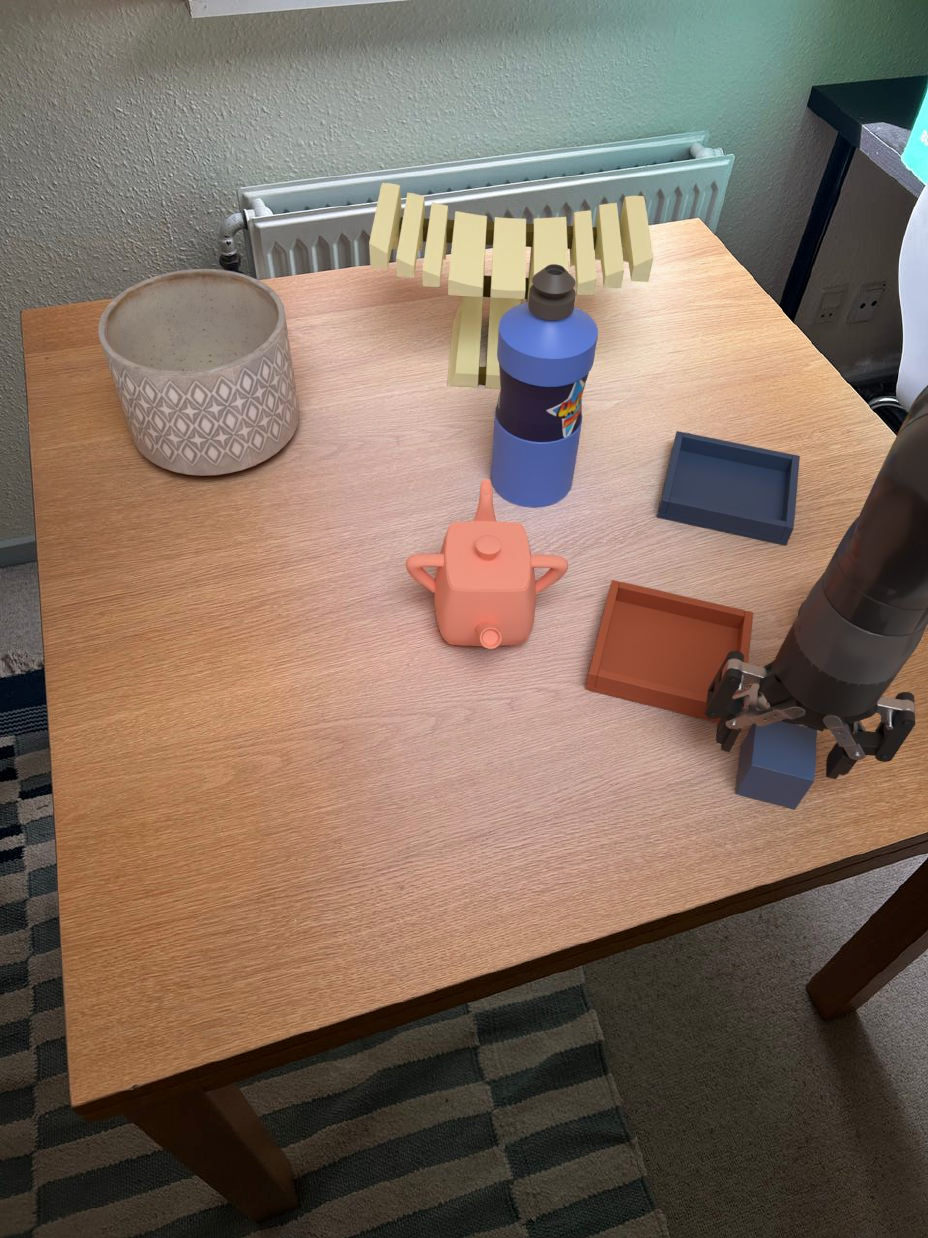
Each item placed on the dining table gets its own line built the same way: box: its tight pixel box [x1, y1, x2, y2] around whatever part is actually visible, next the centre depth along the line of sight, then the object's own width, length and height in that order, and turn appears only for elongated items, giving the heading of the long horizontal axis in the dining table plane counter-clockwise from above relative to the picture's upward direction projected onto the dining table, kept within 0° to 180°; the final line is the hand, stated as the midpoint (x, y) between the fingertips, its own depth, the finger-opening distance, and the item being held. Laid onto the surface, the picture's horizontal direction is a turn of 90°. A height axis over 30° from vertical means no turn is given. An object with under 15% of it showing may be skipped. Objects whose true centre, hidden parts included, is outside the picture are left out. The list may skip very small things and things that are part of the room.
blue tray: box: [656, 430, 801, 546], centre depth 99 cm, size 14×12×3 cm
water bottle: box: [489, 264, 599, 508], centre depth 91 cm, size 9×9×25 cm
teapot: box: [405, 478, 569, 650], centre depth 85 cm, size 14×12×10 cm
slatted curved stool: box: [368, 182, 654, 389], centre depth 108 cm, size 30×16×18 cm, turn 87°
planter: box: [97, 268, 300, 477], centre depth 99 cm, size 19×19×14 cm
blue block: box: [735, 720, 818, 810], centre depth 76 cm, size 5×5×5 cm
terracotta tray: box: [584, 579, 754, 724], centre depth 85 cm, size 14×12×3 cm
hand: (777, 755), depth 75 cm, fingers open, 8 cm apart
